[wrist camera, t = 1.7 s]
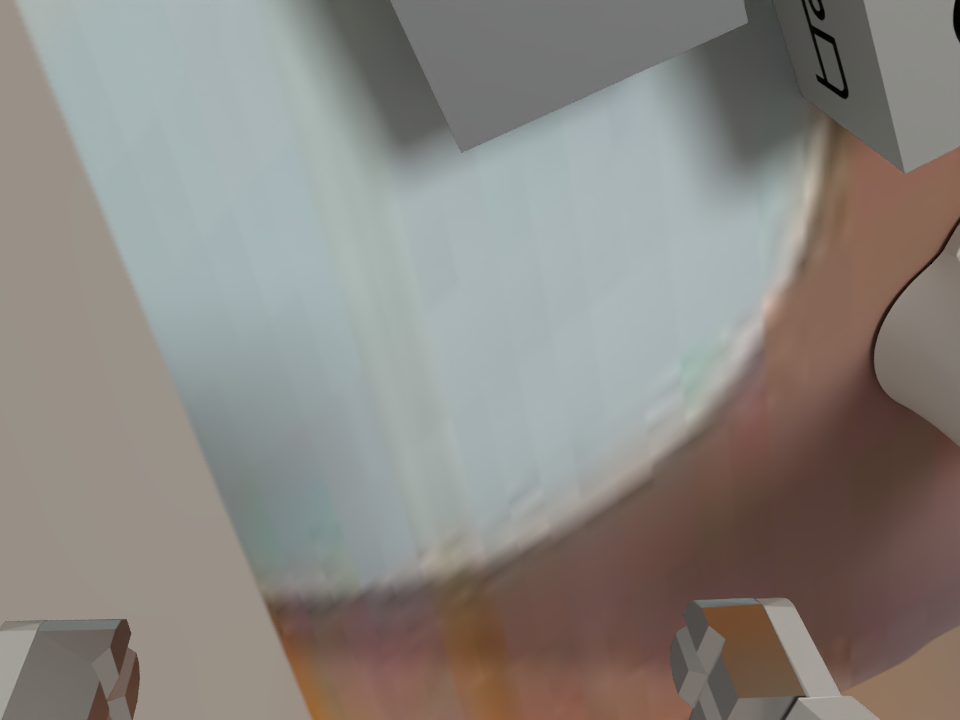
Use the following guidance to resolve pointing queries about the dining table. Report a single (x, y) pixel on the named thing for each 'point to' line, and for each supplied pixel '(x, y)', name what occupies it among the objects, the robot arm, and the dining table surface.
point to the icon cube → (881, 71)
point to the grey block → (545, 51)
